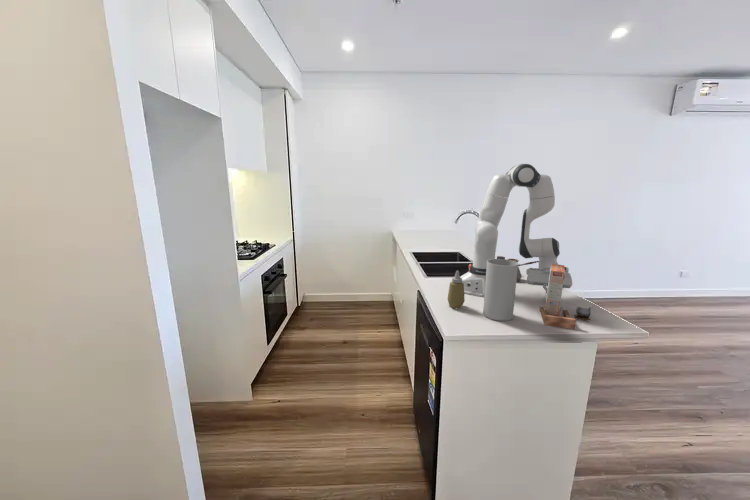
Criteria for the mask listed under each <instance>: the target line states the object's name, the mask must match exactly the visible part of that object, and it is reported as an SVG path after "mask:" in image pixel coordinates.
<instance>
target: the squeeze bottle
mask: <svg viewBox="0 0 750 500" xmlns="http://www.w3.org/2000/svg"><path fill="white" fill-rule="evenodd" d="M460 277H461V275H460V271H459V270H455V274H454V276H453V277H452V278H451V282H449V287H448V292H447V302H448V306H449V307H450V308H452V309H456V308H458V309H462V307H463V305H464V303H465V301H466V300H465V293H464V284H463V283H462V278H460Z"/></svg>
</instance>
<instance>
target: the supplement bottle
mask: <svg viewBox="0 0 750 500" xmlns="http://www.w3.org/2000/svg"><path fill="white" fill-rule="evenodd" d="M496 259H506V256H501V255H498V256H496Z"/></svg>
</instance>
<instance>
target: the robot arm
mask: <svg viewBox="0 0 750 500" xmlns="http://www.w3.org/2000/svg"><path fill="white" fill-rule="evenodd" d="M515 187H519V188H526V189H527V191H528V195H529V204H528V206H527V208H526V209H524V210H523V214H522V220H521V230H520V241H519V244H518V253H519V255H520V256H522V258H524V259H531V258H532V259H533V258H538V261H539V263H538V267H537V268H534V267H529V268H527V269H526V270H525V272H526V273H525V274H526V275H527V276H526V284H528V285H530V286H533V285H534V286H542V288H543V289H544V291H545V294H547V288H548V281H549V274H550V268H551V264H557V265H560V264H558V257H559V256H560V242H559V241H558V240H557V239H556V238H554V237H542V238H530V232H531V231H530V230H531V224H532V223H533V221H534V220H536V219H539V218H541V217H543V216H545V215H547V214H548V213H550V212H551V211H552V210H553V209H554V207H555V204H556V203H555V199H556V198H555V197H556V196H555V189H554V183H553V182H552V178H551V176H550V175H547V174H541V173H539V171H538V170H537V169H536V168H535V167H534V166H533V165H531V164H529V163H520V164H519V163H518V164H517V165H514V166H513V167H512V168H510V169H509V170H508V171H507V172H506V173H505V174H504V173H498V174H495V175H494V176H493V178H492V179H491V180H490V183H489V186H488V188H487V191H486V194H485V196H484V201H483V204H482V207H481V211H480V213H479V215H478V218H477V222H476V224H475V226H474V227H475V228H474V235H475V236H474V247H473V257H472V258H473V259H472V264H471V263H470V264H469V265H467V266H468V271H467V272H466V273H464V274H462V275H460V278H462V283H463V284H464V294H466V295H472V296H476V297H484V294H485V282H486V269H487V260H489V259H496V251H497V245H498V237H499V236H498V235H499V230H498V227H499V225H500V222H501V220H502V217H503V215H504V212H505V209H506V207H507V203H508V201H509V197H510V193H511V191H512V190H513V188H515ZM564 267H565V276H564V283H563V289H571V288H572V286H573V278H572V276H571V273H570V272H569V271H570V270H569V269H570V268H569V267H568V266H564Z"/></svg>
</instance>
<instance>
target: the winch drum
mask: <svg viewBox="0 0 750 500" xmlns="http://www.w3.org/2000/svg"><path fill="white" fill-rule="evenodd" d="M591 313H592V306H591V305H589V306H588V307H581V306H577V307H576V309H575V313H574V315H573V316H574V319H576V320H579V321H587V322H591Z"/></svg>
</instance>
